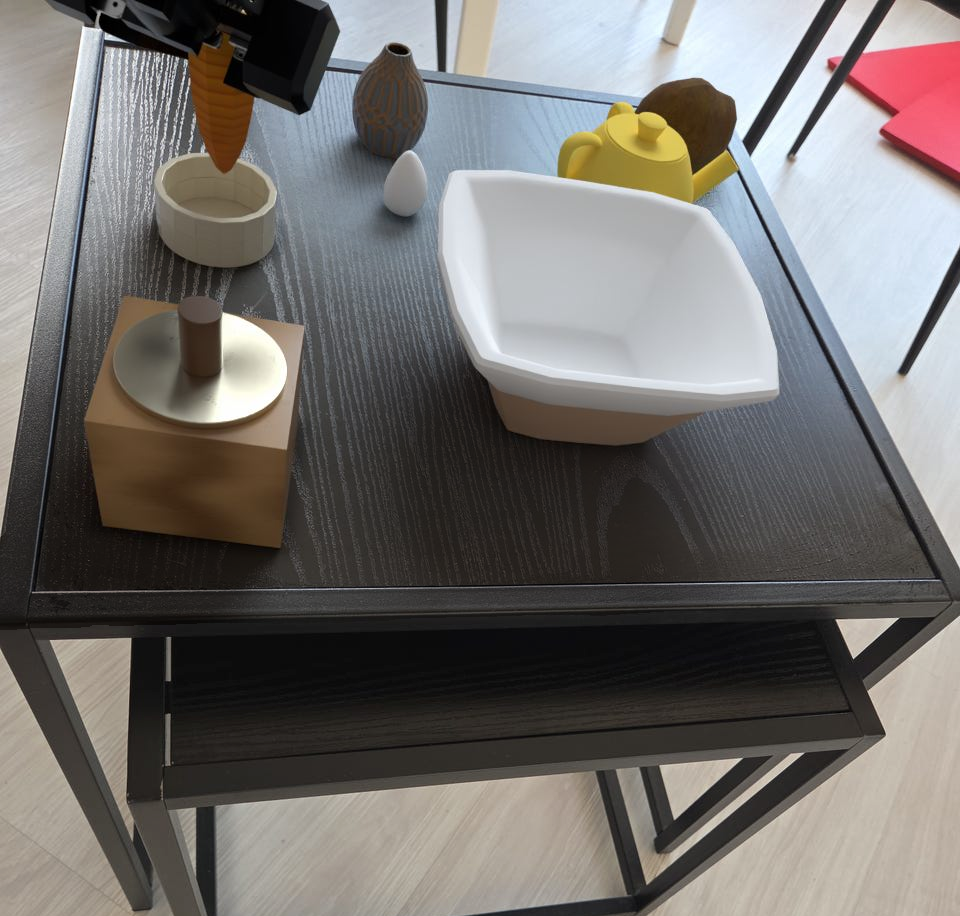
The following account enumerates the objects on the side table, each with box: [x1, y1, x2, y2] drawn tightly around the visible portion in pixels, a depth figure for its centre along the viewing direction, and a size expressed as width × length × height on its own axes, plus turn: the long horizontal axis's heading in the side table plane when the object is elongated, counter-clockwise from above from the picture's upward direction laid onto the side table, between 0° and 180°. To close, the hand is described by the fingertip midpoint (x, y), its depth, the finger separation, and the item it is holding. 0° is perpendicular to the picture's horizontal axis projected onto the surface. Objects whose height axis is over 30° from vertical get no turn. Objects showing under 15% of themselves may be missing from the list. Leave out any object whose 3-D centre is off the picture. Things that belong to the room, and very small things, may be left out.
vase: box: [351, 41, 429, 159], centre depth 86 cm, size 7×7×9 cm
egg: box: [382, 150, 429, 217], centre depth 82 cm, size 4×4×6 cm
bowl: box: [437, 169, 780, 447], centre depth 71 cm, size 24×25×11 cm
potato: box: [634, 77, 738, 175], centre depth 95 cm, size 8×12×9 cm
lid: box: [113, 295, 287, 429], centre depth 54 cm, size 10×10×4 cm
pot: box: [153, 152, 278, 269], centre depth 75 cm, size 9×9×4 cm
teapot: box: [556, 101, 739, 204], centre depth 85 cm, size 14×14×11 cm
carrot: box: [187, 6, 255, 174], centre depth 66 cm, size 5×5×15 cm
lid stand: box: [83, 294, 306, 549], centre depth 59 cm, size 11×11×9 cm
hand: (233, 69), depth 67 cm, fingers closed on carrot, 5 cm apart
